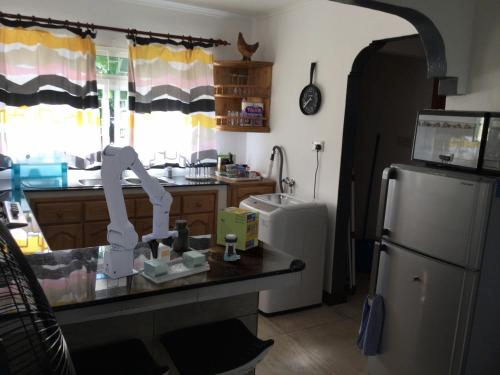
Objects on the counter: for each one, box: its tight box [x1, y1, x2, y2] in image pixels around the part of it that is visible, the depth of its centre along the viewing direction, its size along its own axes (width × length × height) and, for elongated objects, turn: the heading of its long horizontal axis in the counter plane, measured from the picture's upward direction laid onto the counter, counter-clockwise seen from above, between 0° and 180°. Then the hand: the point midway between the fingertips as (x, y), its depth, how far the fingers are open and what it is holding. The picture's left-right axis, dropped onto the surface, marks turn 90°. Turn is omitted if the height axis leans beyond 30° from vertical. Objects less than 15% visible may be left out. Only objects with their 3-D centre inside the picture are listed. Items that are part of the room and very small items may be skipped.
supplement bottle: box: [171, 219, 190, 252], centre depth 174 cm, size 7×7×12 cm
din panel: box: [139, 250, 211, 284], centre depth 147 cm, size 22×11×5 cm, turn 134°
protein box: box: [216, 206, 260, 251], centre depth 184 cm, size 10×15×16 cm
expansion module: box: [150, 242, 171, 263], centre depth 158 cm, size 4×7×6 cm, turn 44°
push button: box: [223, 234, 241, 262], centre depth 163 cm, size 7×5×10 cm
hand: (160, 257), depth 158 cm, fingers closed on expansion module, 4 cm apart
